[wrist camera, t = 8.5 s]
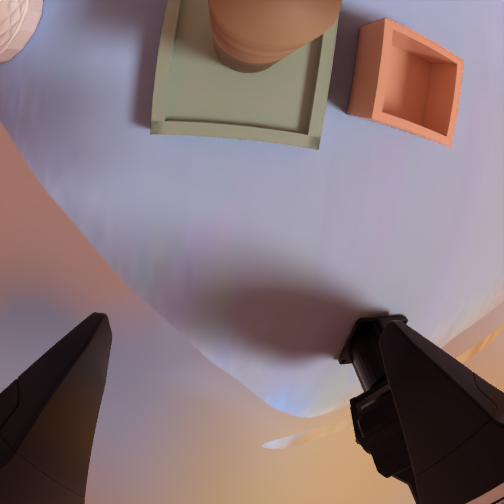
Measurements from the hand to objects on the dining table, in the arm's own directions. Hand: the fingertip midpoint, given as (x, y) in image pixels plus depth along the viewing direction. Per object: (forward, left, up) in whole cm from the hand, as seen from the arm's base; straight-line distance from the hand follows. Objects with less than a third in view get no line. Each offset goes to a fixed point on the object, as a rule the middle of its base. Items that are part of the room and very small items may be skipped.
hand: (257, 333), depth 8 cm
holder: (+10, -10, -12) cm, 19 cm away
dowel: (+10, +1, -12) cm, 15 cm away
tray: (+10, +1, -12) cm, 16 cm away
